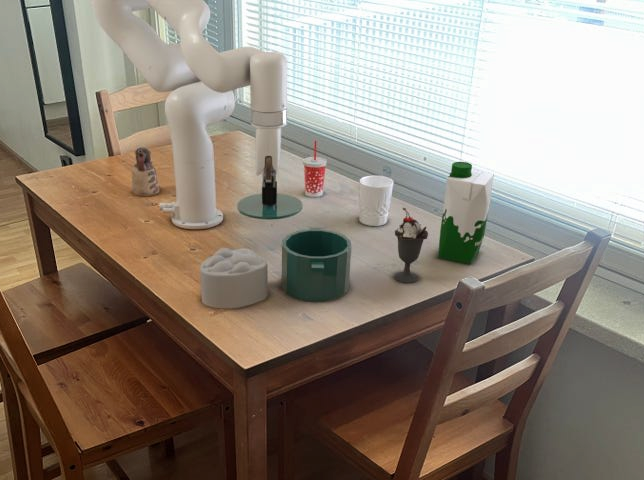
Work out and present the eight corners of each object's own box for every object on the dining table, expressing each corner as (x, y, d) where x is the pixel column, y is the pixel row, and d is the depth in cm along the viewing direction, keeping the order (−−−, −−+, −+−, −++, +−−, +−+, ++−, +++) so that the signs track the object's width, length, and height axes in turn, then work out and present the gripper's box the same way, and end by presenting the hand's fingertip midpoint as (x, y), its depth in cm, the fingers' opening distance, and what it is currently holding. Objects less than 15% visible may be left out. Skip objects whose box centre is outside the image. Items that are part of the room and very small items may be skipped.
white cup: (388, 228, 171) (392, 188, 166) (355, 226, 172) (358, 185, 167) (390, 215, 178) (394, 176, 172) (358, 213, 179) (361, 174, 173)
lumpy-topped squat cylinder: (273, 297, 143) (273, 258, 139) (215, 314, 138) (213, 274, 133) (247, 277, 151) (246, 239, 146) (192, 292, 145) (189, 253, 141)
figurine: (162, 187, 196) (158, 143, 189) (155, 197, 190) (150, 152, 183) (137, 186, 197) (132, 142, 190) (129, 195, 191) (124, 151, 184)
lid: (235, 222, 155) (233, 194, 152) (239, 197, 167) (238, 171, 164) (302, 222, 154) (303, 194, 151) (302, 197, 166) (302, 171, 163)
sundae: (386, 271, 152) (392, 204, 144) (417, 269, 153) (425, 202, 144) (393, 285, 147) (401, 216, 139) (426, 284, 147) (435, 215, 139)
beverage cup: (307, 188, 194) (309, 136, 186) (328, 191, 192) (331, 139, 184) (298, 196, 189) (299, 142, 182) (320, 199, 187) (322, 145, 179)
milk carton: (444, 243, 164) (456, 157, 152) (484, 251, 160) (500, 163, 149) (432, 258, 157) (444, 169, 146) (473, 267, 153) (489, 176, 142)
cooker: (281, 308, 140) (281, 264, 135) (282, 264, 156) (282, 223, 150) (351, 309, 139) (354, 264, 134) (345, 265, 155) (348, 224, 150)
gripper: (252, 107, 156) (254, 188, 167) (248, 128, 143) (250, 215, 153) (287, 107, 156) (286, 188, 166) (286, 127, 143) (286, 215, 153)
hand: (269, 200), depth 160 cm, fingers closed on lid, 2 cm apart
